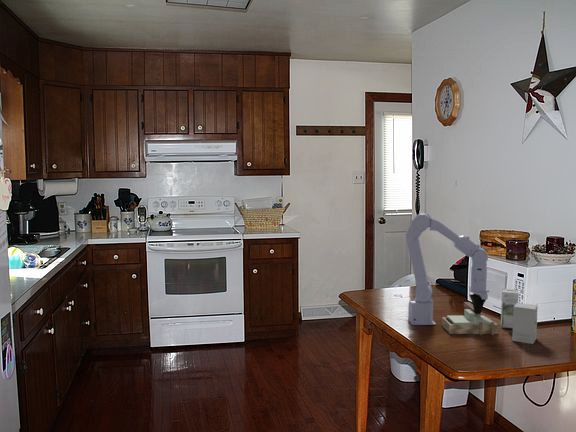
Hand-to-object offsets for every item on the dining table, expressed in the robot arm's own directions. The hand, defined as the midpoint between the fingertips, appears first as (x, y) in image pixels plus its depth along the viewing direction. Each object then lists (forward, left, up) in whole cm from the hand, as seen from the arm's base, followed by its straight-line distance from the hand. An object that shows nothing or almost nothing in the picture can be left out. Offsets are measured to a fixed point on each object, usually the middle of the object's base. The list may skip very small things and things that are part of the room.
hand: (477, 313), depth 209 cm
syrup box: (+13, 0, -6) cm, 14 cm away
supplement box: (+12, -16, -6) cm, 20 cm away
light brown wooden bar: (0, +7, -1) cm, 7 cm away
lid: (-4, -4, -2) cm, 6 cm away
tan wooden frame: (-4, -4, -6) cm, 8 cm away
